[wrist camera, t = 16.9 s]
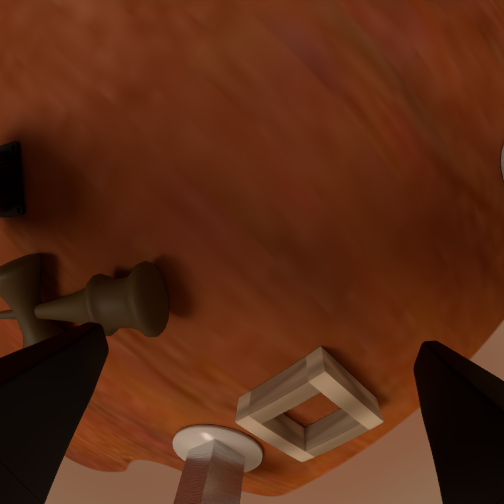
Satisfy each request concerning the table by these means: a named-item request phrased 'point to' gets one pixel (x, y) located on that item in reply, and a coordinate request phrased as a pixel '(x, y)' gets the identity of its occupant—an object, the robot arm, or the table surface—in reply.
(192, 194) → the table surface
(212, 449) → the steel peg
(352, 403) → the collar
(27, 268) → the kendama
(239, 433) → the coaster
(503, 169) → the supplement bottle
